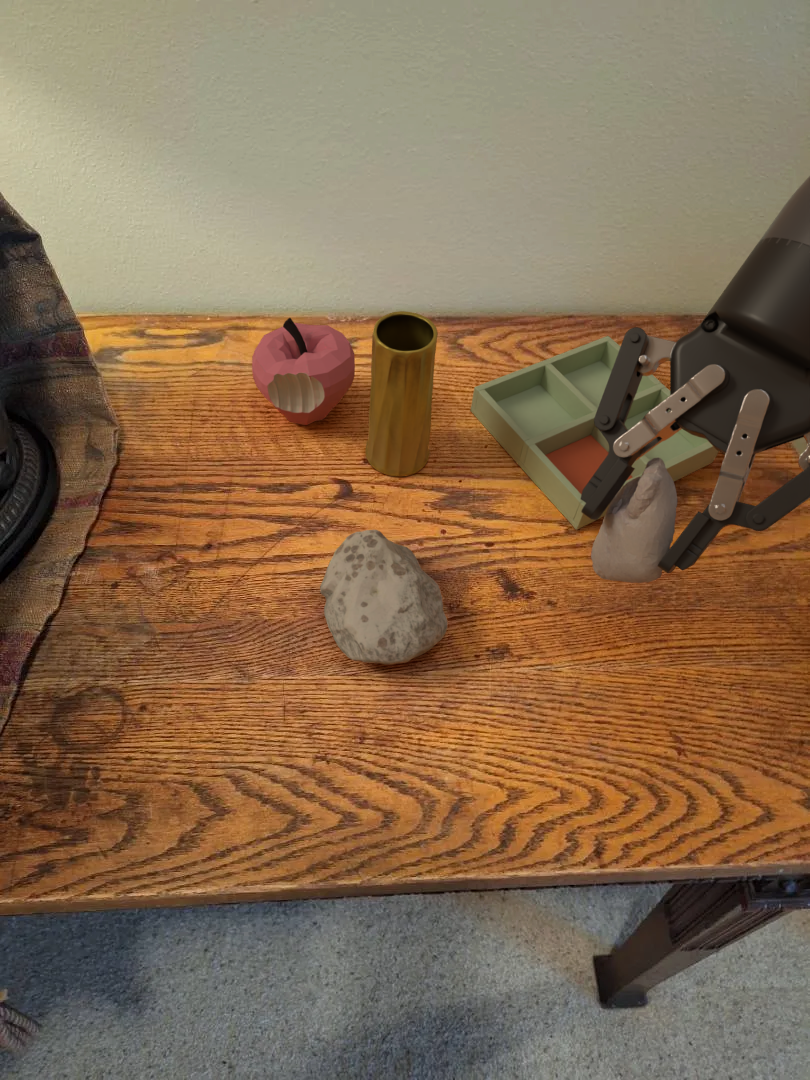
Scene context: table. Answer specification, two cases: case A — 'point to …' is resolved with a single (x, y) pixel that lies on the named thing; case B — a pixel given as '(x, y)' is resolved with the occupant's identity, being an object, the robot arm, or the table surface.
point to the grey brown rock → (637, 528)
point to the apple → (303, 370)
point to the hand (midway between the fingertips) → (626, 541)
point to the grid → (574, 424)
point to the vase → (401, 393)
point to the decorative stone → (381, 601)
